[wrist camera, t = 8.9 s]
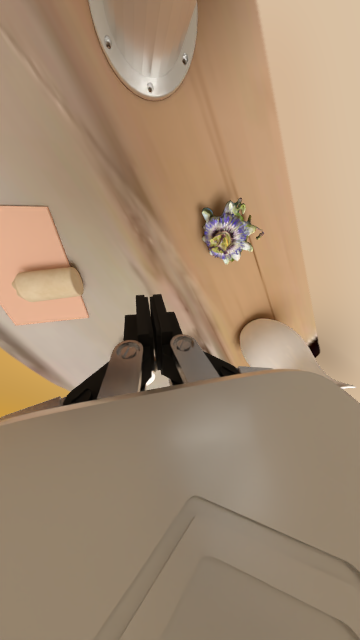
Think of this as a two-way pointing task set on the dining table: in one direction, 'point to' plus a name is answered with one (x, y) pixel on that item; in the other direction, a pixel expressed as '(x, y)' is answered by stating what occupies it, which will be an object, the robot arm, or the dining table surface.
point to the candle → (48, 284)
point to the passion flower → (228, 232)
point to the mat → (32, 264)
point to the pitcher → (278, 348)
